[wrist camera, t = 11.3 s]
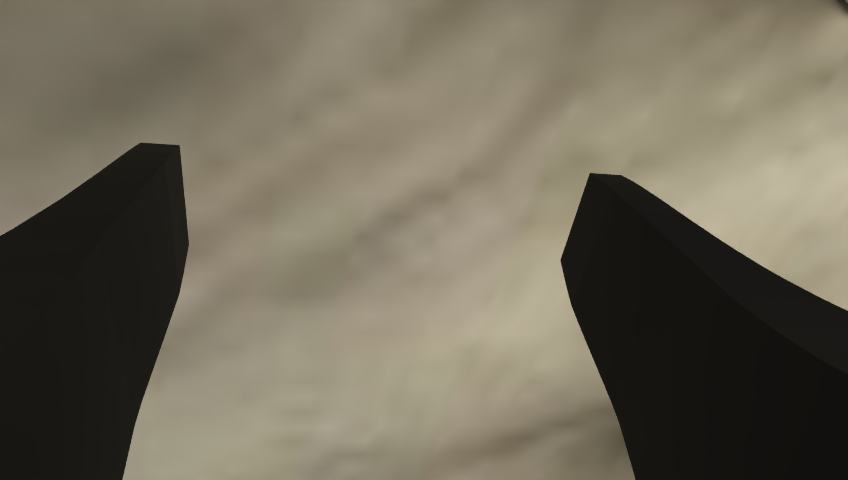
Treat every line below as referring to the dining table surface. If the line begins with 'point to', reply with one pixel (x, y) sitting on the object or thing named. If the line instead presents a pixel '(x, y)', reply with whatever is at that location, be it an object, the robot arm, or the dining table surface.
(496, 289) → the dining table surface
